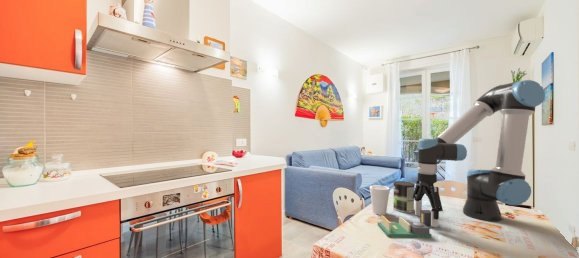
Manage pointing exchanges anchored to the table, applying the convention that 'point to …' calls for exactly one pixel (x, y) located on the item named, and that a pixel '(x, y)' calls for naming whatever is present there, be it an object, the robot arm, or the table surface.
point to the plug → (425, 217)
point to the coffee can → (403, 196)
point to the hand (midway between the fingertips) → (425, 220)
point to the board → (404, 228)
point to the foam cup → (379, 199)
